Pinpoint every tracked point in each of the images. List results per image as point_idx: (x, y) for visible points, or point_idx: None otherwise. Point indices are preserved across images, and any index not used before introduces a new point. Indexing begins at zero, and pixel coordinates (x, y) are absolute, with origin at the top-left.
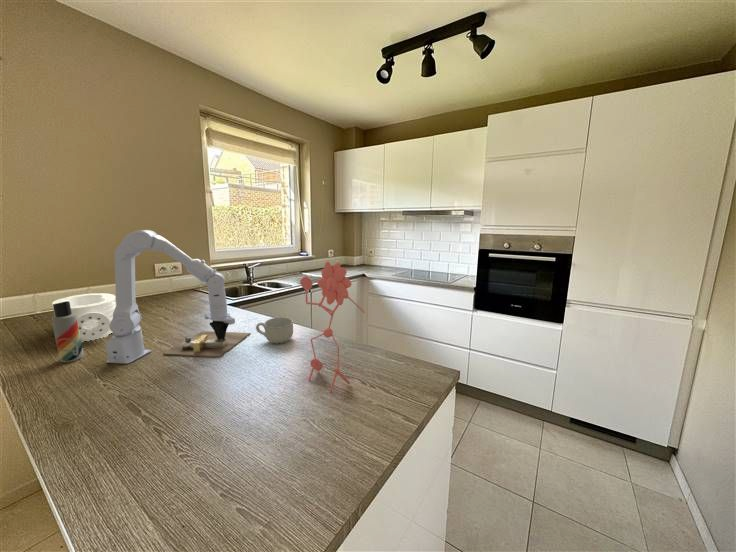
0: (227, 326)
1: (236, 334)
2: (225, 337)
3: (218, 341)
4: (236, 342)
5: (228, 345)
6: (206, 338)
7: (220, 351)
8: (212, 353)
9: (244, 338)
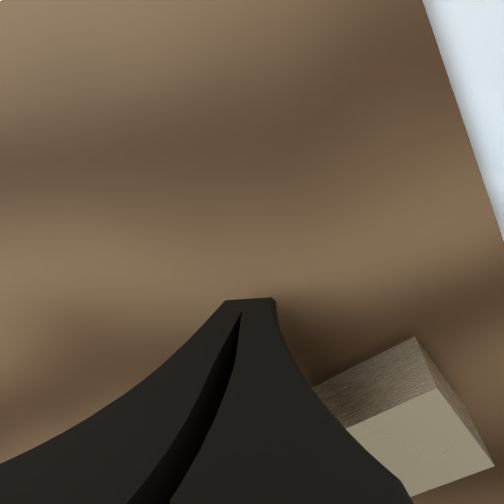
0: (335, 427)
1: (170, 19)
2: (154, 203)
3: (408, 475)
4: (471, 226)
5: (449, 335)
6: (13, 342)
7: (499, 452)
8: (459, 501)
9: (421, 19)
